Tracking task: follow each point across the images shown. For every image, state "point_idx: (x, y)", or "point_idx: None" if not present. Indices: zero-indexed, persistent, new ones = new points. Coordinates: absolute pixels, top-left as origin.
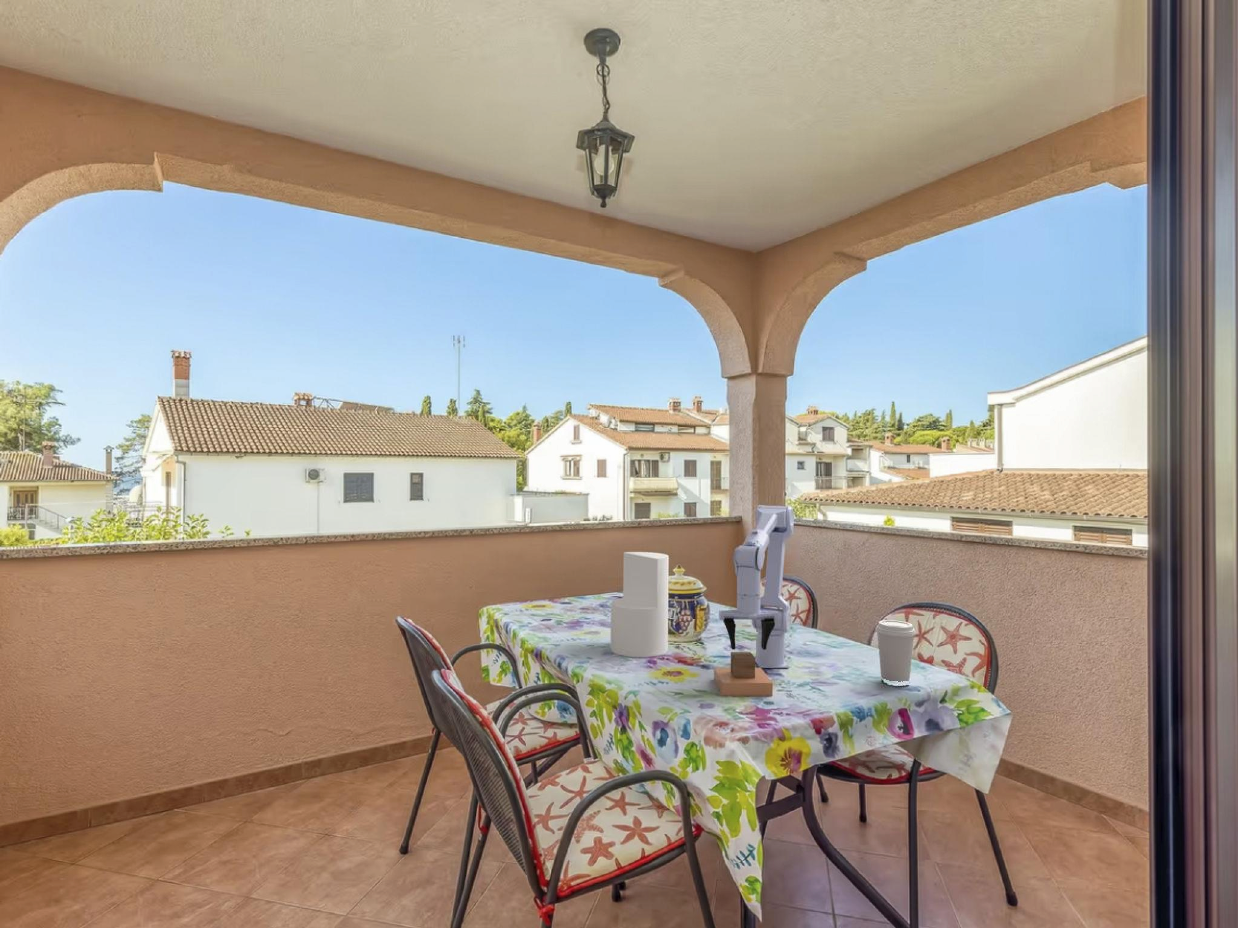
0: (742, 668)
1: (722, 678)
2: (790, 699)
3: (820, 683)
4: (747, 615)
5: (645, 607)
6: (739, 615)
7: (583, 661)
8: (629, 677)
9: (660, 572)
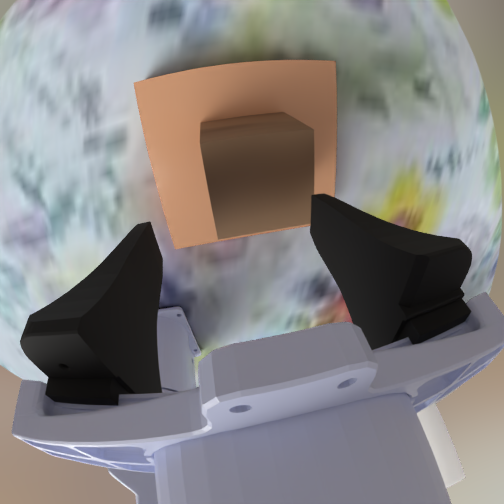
0: (260, 121)
1: (328, 108)
2: (90, 65)
3: (29, 232)
4: (372, 363)
5: None
6: (424, 354)
7: (485, 260)
8: (471, 195)
9: (448, 459)
